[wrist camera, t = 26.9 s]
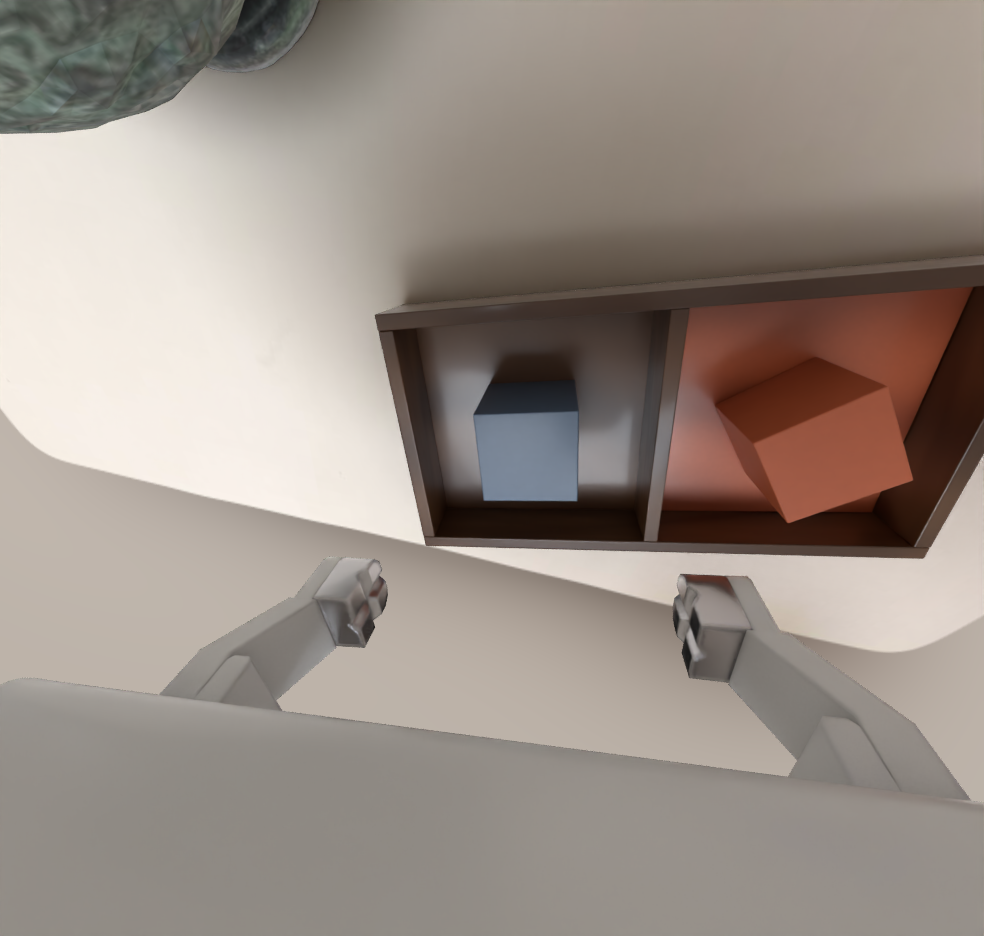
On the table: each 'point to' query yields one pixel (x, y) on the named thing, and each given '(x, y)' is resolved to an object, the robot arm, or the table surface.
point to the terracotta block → (816, 438)
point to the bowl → (128, 54)
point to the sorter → (693, 404)
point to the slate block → (528, 441)
